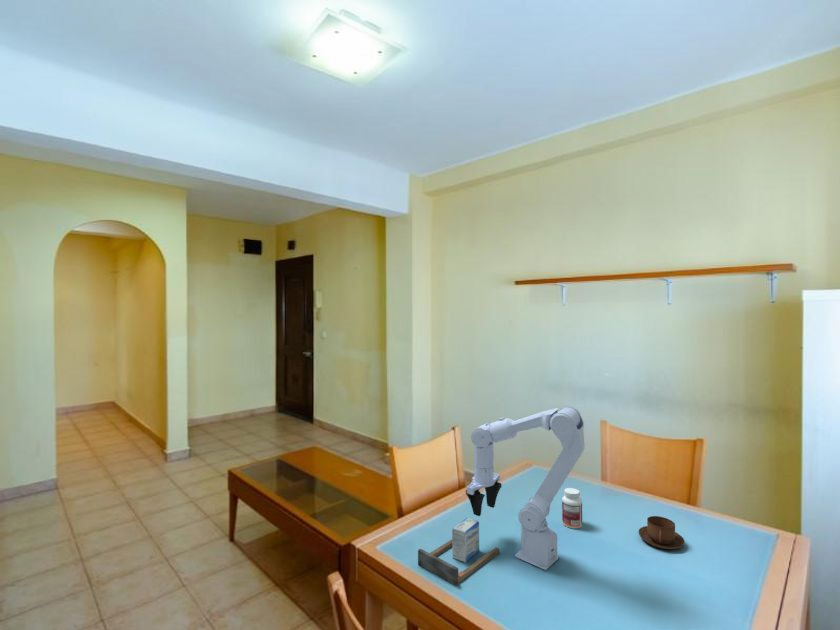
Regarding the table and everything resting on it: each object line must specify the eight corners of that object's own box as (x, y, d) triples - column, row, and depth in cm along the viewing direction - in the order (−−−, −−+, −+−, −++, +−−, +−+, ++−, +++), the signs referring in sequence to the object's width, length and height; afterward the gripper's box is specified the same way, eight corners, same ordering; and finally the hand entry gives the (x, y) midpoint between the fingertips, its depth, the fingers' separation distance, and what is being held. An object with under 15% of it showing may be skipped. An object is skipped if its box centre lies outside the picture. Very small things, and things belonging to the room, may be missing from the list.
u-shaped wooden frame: (499, 552, 124) (499, 539, 124) (456, 585, 109) (455, 569, 109) (462, 536, 133) (462, 523, 133) (417, 564, 118) (417, 550, 118)
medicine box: (465, 563, 119) (465, 532, 119) (451, 558, 121) (451, 527, 121) (479, 550, 125) (479, 521, 125) (466, 545, 128) (466, 516, 128)
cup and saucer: (691, 555, 122) (691, 534, 122) (645, 551, 125) (645, 529, 125) (675, 534, 134) (675, 514, 134) (633, 530, 136) (633, 510, 136)
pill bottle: (568, 517, 144) (568, 485, 144) (586, 525, 140) (586, 491, 139) (558, 523, 140) (558, 490, 140) (575, 531, 136) (575, 496, 135)
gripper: (486, 456, 138) (486, 498, 138) (458, 468, 127) (458, 514, 127) (505, 461, 133) (505, 505, 133) (478, 475, 122) (478, 522, 122)
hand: (484, 510), depth 130 cm, fingers open, 7 cm apart
